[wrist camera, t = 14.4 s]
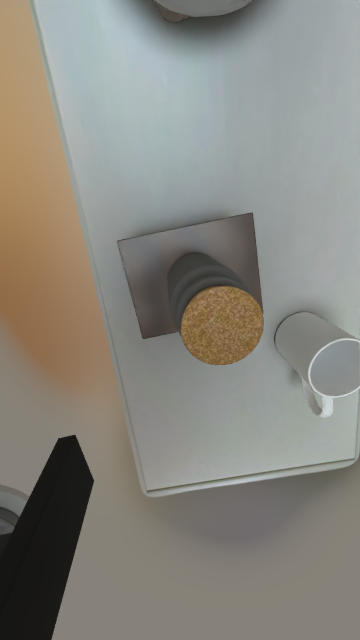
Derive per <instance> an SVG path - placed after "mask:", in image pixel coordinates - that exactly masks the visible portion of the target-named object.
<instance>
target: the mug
mask: <svg viewBox="0 0 360 640" xmlns="http://www.w3.org/2000/svg"><path fill="white" fill-rule="evenodd" d="M275 344H276V347H277V350H278V351H279V352H280V354H281V355H282V356H283V357H284V358H285V359H286V360H287V361H288V363H289V364H290V365H291V366H292V367H293V368H294V369H295V370H296V371H297V372H298V373H299V375H300V376H301V382H302V387H303V391H304V395H305V398H306V400H307V403H308V405H309V407H310V408H311V410H312V411H313V413H314V414H315V415H316V416H318V417H321V418H325V417H329V416H331V414H332V412H333V398H337V397H344V396H346V395H349V394H351V393H353V392H355V391H356V390H358V389H359V388H360V340H359V339H357V338H355V337H354V336H352V335H350V334H348V333H347V332H345V331H343V330H341V329H340V328H338V327H336V326H335V325H333V324H331V323H329V322H328V321H326V320H324V319H322V318H321V317H319V316H317V315H315V314H313V313H308V312H302V313H296V314H294V315H291V316H289V317H288V318H287V319H285V320H284V321H283V322H282V323H281V324H280V326H279V328H278V330H277V332H276V336H275ZM312 389H313V390H314V391H316V392H317V393H318V394H320V395H322V399H323V409H322V410H321V408H320V407H319V405H318V403H317V401H316V399H315V396H314V393H313V390H312Z"/></svg>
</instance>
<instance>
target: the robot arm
mask: <svg viewBox="0 0 360 640" xmlns="http://www.w3.org/2000/svg"><path fill="white" fill-rule="evenodd" d="M93 483H94V479H93V477H92V475H91V472H90V470H89V467H88V465H87V462H86V460H85V458H84V455H83V452H82V450H81V448H80V445H79V443H78V440H77V438H76V435H72V436H67V437H63V438H58V441H57V443H56V445H55V447H54V449H53V451H52V453H51V455H50V457H49V459H48V461H47V463H46V465H45V467H44V469H43V471H42V473H41V475H40V477H39V479H38V482H37V483H36V485H35V487H34V489H33V491H32V493H31V495H30V497H29V499H28V501H27V503H26V505H25V507H24V509H23V512H22V514H21V516H20V517H19V516H18V515H16V514H15V513H14V512H12V511H10V510H8V509H6V508H3V507H0V640H51V639H52V635H53V631H54V628H55V624H56V620H57V616H58V613H59V609H60V605H61V602H62V598H63V594H64V590H65V587H66V583H67V579H68V576H69V572H70V568H71V565H72V561H73V557H74V553H75V549H76V546H77V542H78V538H79V535H80V531H81V527H82V523H83V520H84V516H85V512H86V509H87V505H88V501H89V498H90V494H91V490H92V486H93Z"/></svg>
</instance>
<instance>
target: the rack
mask: <svg viewBox="0 0 360 640" xmlns="http://www.w3.org/2000/svg"><path fill="white" fill-rule="evenodd" d="M117 243H118V246H119V250H120V254H121V258H122V262H123V265H124V269H125V273H126V277H127V281H128V284H129V288H130V292H131V296H132V300H133V303H134V307H135V311H136V315H137V319H138V322H139V326H140V330H141V334H142V338H143V339H146V338H151V337H156V336H160V335H165V334H170V333H175V332H179V331H178V329H177V328H176V326H175V324H174V323H173V321H172V318H171V314H170V310H169V300H168V284H167V281H168V273H169V270H170V268H171V266H172V265H173V263H174V262H175V261H176V260H177V259H178V258H180V257H181V256H183V255H185V254H188V253H202V254H205V255H208V256H210V257H211V258H213V259H215V260H216V261H218V262H220V263H221V264H223V265H225V266H226V267H228V268H229V269H231V270H232V271H234V272H235V273H236V274H237V275H238V276H239V277H240V278H241V279H242V281H243V282H244V283H245V285H246V287H247V289H248V290H249V292H250V293H251V295H252V296H253V298H254V299H255V300H256V301H257V303H258V304H259V306H260V308H261V311H262V314H263V306H262V297H261V287H260V277H259V268H258V258H257V248H256V239H255V229H254V219H253V213H247V214H242V215H237V216H233V217H228V218H223V219H218V220H214V221H209V222H204V223H199V224H195V225H190V226H185V227H180V228H175V229H171V230H166V231H161V232H156V233H152V234H147V235H142V236H137V237H133V238H128V239H123V240H119V241H117Z"/></svg>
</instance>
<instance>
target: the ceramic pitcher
mask: <svg viewBox="0 0 360 640" xmlns="http://www.w3.org/2000/svg"><path fill="white" fill-rule="evenodd" d="M152 1H153V2H154V4H155V5H156V7H157V8H158V10H159V11H160V13H161V14H162V16H163V17H164V19H166V20H169V21H173V22H178V21H181V20H183V19H186V18H189V17H191V16H193V17H204V16H218V15H223V14H227V13H231V12H233V11H236V10H238V9H240V8H243V7H244V6H246V5H247V4H249V3H250V2H251V1H253V0H152Z"/></svg>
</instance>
